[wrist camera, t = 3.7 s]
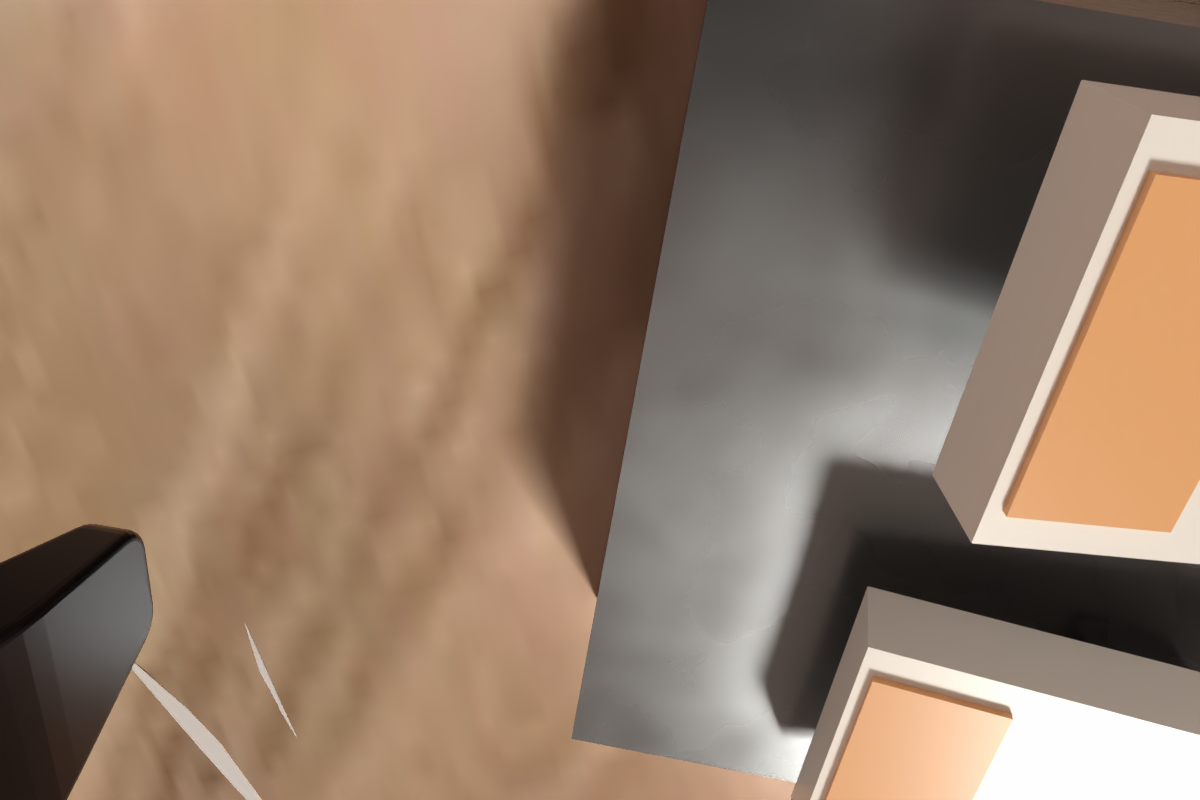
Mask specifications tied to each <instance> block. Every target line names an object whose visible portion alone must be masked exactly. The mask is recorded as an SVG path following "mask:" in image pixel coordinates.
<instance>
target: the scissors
mask: <svg viewBox="0 0 1200 800" xmlns="http://www.w3.org/2000/svg"><path fill="white" fill-rule="evenodd" d="M244 623H245V622H244ZM245 626H246V624H245ZM246 629H247V632H248V636H249V639H250V642H251V645H252V649H253V652H254V655H255V658H256V662H257V665H258V668H259V671H260V673H261V675H262V677H263V678H264V680H265V682H266V684H267V686H268V688H269V689H270V691H271V693H272V695H273V697H274V698H275V700H276V702H277V704H278V706H279V709H280V711H281V713H282V714H283V716H284V718H285V719H286V721H287V722H288V724H289V726H290V727H291V729H292V731H293V732H294V730H293V728H292V725H291V723H290V721H289V719H288V717H287V715H286V712H285V710H284V708H283V706H282V704H281V701H280V699H279V697H278V694H277V692H276V690H275V687H274V685H273V683H272V681H271V678H270V676H269V674H268V671H267V669H266V667H265V664H264V662H263V660H262V657H261V655H260V653H259V651H258V649H257V646H256V644H255V642H254V640H253V638H252V636H251V634H250V632H249V630H248V628H247V626H246ZM131 669H132V670H133V671H134V672H135V673H136V675H137V676H138V677H139V678H140V679H141V680H142V681H143V683H144V684H145V685H146V686H147V687H148V688H149V690H150V691H151V692H152V693H153V694H154V695H155V697H156V698H157V699H158V700H159V701H160V702H161V704H162V705H163V706H164V707H165V708H166V709H167V711H168V712H169V713H170V714H171V715H172V716H173V717H174V719H175V720H176V721H177V722H178V723H179V724H180V726H181V727H182V728H183V729H184V730H185V731H186V733H187V734H188V735H189V736H190V737H191V738H192V740H193V741H194V742H195V743H196V744H197V745H198V746H199V748H200V749H201V750H202V751H203V752H204V753H205V754H206V755H207V757H208V758H209V759H210V760H211V761H212V762H213V763H214V764H215V766H216V767H217V768H218V769H219V770H220V771H221V772H222V773H223V775H224V776H225V777H226V778H227V779H228V780H229V781H230V782H231V783H232V785H233V786H234V787H235V788H236V789H237V790H238V791H239V792H240V793H241V794H242V795H243V796H244V797H245V799H246V800H262V799H261V798H260V797H259V795H258V794H257V793H256V791H255V790H254V788H253V787H252V786H251V784H250V783H249V782H248V780H247V779H246V778H245V776H244V775H243V774H242V772H241V771H240V769H239V768H238V767H237V765H236V764H235V763H234V761H233V760H232V759H231V757H230V756H229V755H228V753H227V752H226V750H225V749H224V747H223V746H222V745H221V744H220V742H219V741H218V740H217V739H216V738H215V737H214V736H213V735H212V734H211V733H210V732H209V731H208V730H207V729H206V728H205V727H204V726H203V725H202V724H201V723H200V722H199V721H198V720H197V719H196V717H195V716H194V715H193V714H192V713H191V712H190V711H189V710H188V709H187V708H186V707H185V706H183V705H182V704H181V703H180V702H179V701H178V700H177V699H175V698H174V697H173V696H172V695H171V694H170V693H169V692H167V691H166V690H165V689H164V688H163V687H162V686H161V685H159V684H158V683H157V682H156V681H155V680H154V679H153V678H152V677H150V676H149V675H148V674H147V673H146V672H145V671H144V670H142V669H141V668H140V667H139V666H138V665H137V664H136V663H134V664H133V666H132V668H131ZM294 734H295V732H294ZM295 735H296V734H295ZM296 737H297V736H296ZM297 739H298V738H297Z"/></svg>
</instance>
